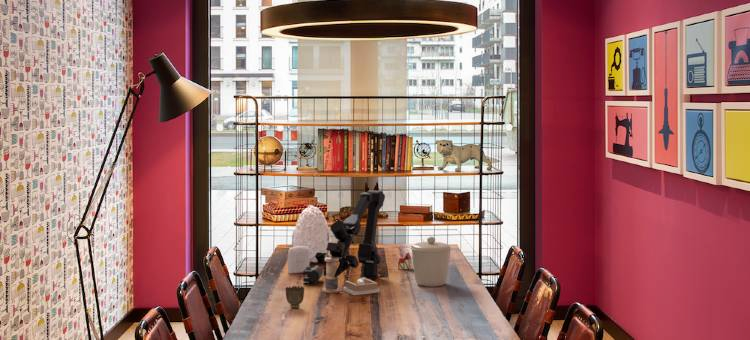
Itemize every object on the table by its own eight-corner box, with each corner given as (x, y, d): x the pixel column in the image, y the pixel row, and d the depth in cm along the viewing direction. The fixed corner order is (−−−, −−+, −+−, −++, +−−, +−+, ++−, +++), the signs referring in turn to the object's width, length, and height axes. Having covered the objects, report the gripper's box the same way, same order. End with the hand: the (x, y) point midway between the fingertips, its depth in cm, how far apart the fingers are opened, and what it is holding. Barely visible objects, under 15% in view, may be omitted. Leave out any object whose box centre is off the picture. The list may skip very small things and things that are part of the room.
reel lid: (363, 281, 385) (363, 275, 384) (373, 283, 381) (373, 277, 380) (354, 283, 380) (354, 278, 380) (364, 286, 376) (364, 280, 376)
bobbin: (335, 288, 370) (335, 256, 368) (341, 291, 364) (342, 259, 362) (321, 290, 367) (321, 257, 365) (327, 293, 361) (328, 260, 360)
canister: (424, 278, 391) (424, 232, 390) (459, 283, 381) (459, 236, 379) (401, 285, 377) (402, 237, 375) (437, 291, 366) (438, 241, 365)
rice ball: (295, 255, 447) (295, 201, 445) (332, 255, 447) (332, 201, 445) (289, 265, 419) (289, 208, 417) (328, 266, 419) (328, 208, 417)
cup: (285, 305, 339) (285, 285, 339) (304, 305, 340) (304, 285, 339) (285, 310, 332) (285, 289, 331) (304, 310, 333) (304, 289, 332)
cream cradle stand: (368, 287, 372) (368, 278, 372) (379, 292, 363) (379, 282, 363) (343, 290, 367) (343, 281, 366) (354, 295, 358) (354, 285, 357)
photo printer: (307, 270, 408) (307, 244, 407) (310, 272, 404) (310, 246, 403) (286, 272, 403) (286, 246, 402) (290, 274, 399) (289, 247, 398)
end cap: (319, 285, 377) (318, 270, 376) (302, 284, 377) (302, 269, 377) (323, 280, 387) (323, 265, 386) (307, 280, 387) (307, 265, 387)
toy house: (412, 270, 411) (412, 253, 410) (398, 271, 410) (398, 254, 410) (411, 268, 417) (411, 251, 416) (397, 268, 416) (397, 251, 415)
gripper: (317, 233, 371) (303, 263, 362) (355, 236, 363) (342, 267, 354) (326, 248, 379) (313, 278, 370) (364, 252, 370) (351, 282, 361)
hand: (329, 276), depth 363 cm, fingers closed on bobbin, 5 cm apart
